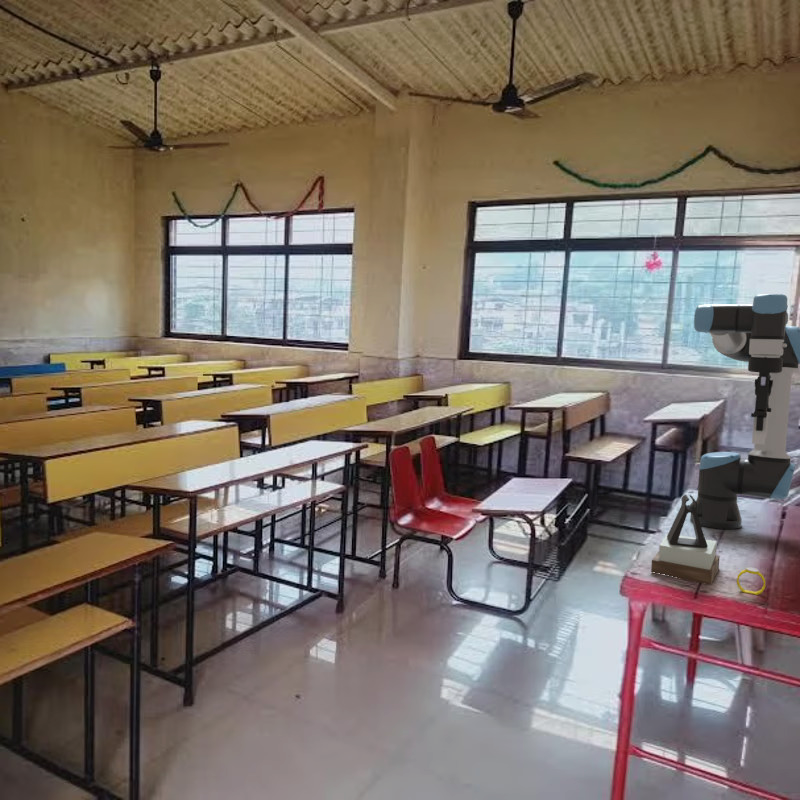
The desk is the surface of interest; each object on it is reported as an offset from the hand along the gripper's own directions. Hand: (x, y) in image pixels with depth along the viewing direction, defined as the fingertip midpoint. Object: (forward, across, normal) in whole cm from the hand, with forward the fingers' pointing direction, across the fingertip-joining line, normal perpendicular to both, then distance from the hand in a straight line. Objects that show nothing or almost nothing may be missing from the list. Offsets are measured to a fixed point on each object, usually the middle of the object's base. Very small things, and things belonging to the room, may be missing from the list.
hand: (759, 440), depth 166 cm
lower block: (+35, -8, +14) cm, 39 cm away
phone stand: (+27, -8, +14) cm, 32 cm away
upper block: (+31, -8, +14) cm, 35 cm away
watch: (+35, -15, -1) cm, 38 cm away
